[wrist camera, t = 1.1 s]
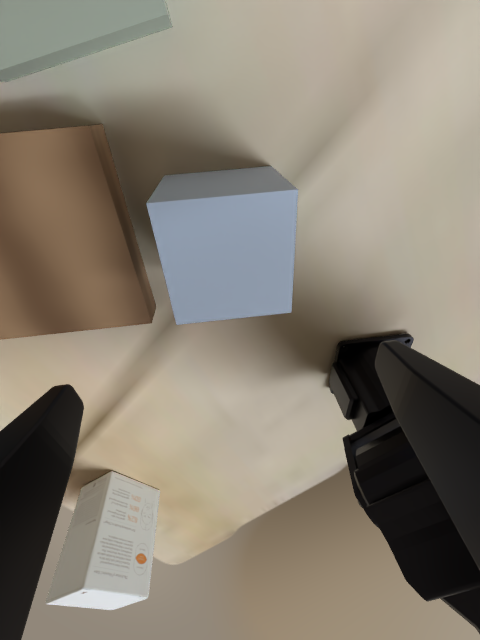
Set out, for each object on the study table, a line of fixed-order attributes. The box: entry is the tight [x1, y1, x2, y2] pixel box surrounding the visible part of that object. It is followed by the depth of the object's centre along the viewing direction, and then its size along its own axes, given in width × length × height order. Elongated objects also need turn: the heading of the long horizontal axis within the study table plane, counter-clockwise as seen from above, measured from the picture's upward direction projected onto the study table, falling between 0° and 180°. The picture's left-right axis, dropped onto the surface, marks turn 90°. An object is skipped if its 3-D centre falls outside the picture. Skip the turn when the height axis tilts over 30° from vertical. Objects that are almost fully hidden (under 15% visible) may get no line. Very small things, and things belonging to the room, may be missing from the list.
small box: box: [46, 471, 160, 610], centre depth 32 cm, size 8×6×10 cm
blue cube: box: [146, 166, 298, 325], centre depth 15 cm, size 6×6×6 cm
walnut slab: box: [0, 124, 156, 340], centre depth 17 cm, size 11×11×2 cm
